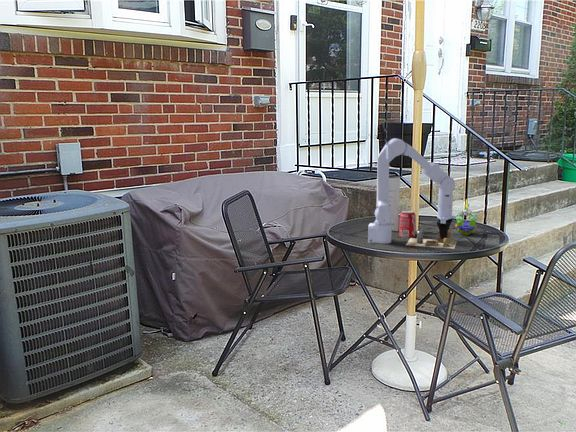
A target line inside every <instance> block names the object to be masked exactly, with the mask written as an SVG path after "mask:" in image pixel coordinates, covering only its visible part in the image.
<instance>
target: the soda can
mask: <svg viewBox="0 0 576 432" xmlns="http://www.w3.org/2000/svg"><path fill="white" fill-rule="evenodd" d="M416 226H417V215H416V212H415V211H414V210H407V209H405V210H403V209H402V210H401V211H400V213H399V225H398V234H399V235H398V236H399V237H401V238H415V237H416V234H417V231H416V229H417V227H416Z"/></svg>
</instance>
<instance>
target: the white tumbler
mask: <svg viewBox="0 0 576 432" xmlns="http://www.w3.org/2000/svg"><path fill="white" fill-rule="evenodd" d="M400 179H401V177H400V176H398V175H389V206H390V212H391V214H392V219H391V222H392V232H399V217H400V211H399V210H400V187H401V186H400V184H401V180H400ZM375 205H376V207H377V203H376V204H375Z"/></svg>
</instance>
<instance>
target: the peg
mask: <svg viewBox="0 0 576 432" xmlns="http://www.w3.org/2000/svg"><path fill="white" fill-rule="evenodd" d="M416 238H417V243H419V244H422V243H423V239H424V230H420V229H419V230H417V231H416Z"/></svg>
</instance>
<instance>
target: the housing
mask: <svg viewBox="0 0 576 432" xmlns="http://www.w3.org/2000/svg"><path fill="white" fill-rule="evenodd" d="M446 238H449V243H450V241H452V229H450V228H449V229H448V233H447V237H446ZM436 240H437V241H438V242H442V243H444V239H441V238H440V232H439V229H438V230H437V239H436Z"/></svg>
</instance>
